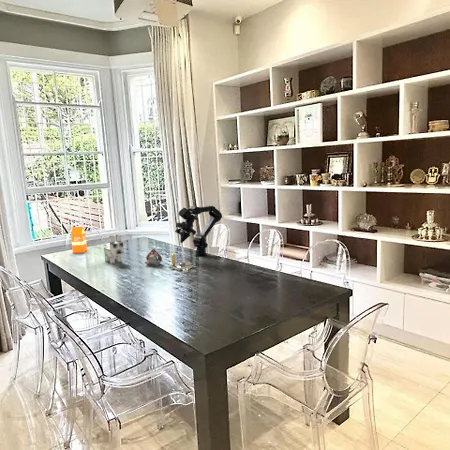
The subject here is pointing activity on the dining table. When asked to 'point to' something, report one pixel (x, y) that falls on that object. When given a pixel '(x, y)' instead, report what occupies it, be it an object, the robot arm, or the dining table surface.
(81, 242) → the orange juice
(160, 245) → the dining table surface
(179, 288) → the dining table surface
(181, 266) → the sprocket
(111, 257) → the toy llama
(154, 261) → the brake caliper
